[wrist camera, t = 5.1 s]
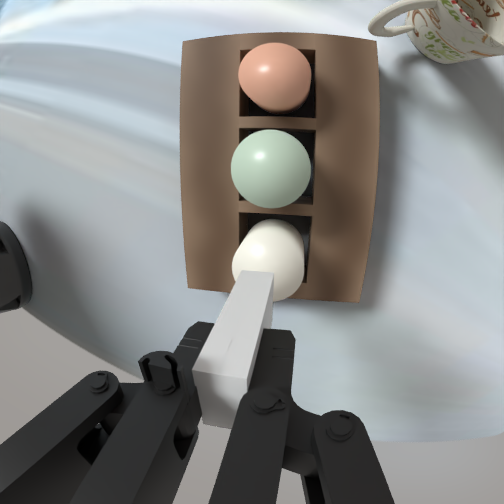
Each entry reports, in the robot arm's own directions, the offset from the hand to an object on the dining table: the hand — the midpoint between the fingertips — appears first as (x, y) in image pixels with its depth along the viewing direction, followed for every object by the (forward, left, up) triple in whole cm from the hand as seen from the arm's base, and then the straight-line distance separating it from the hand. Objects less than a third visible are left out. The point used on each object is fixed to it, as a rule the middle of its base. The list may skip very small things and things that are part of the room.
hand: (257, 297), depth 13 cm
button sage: (0, +6, -8) cm, 10 cm away
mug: (+12, +19, -11) cm, 25 cm away
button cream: (0, 0, -8) cm, 8 cm away
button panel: (0, +6, -11) cm, 13 cm away
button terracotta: (0, +12, -10) cm, 15 cm away
